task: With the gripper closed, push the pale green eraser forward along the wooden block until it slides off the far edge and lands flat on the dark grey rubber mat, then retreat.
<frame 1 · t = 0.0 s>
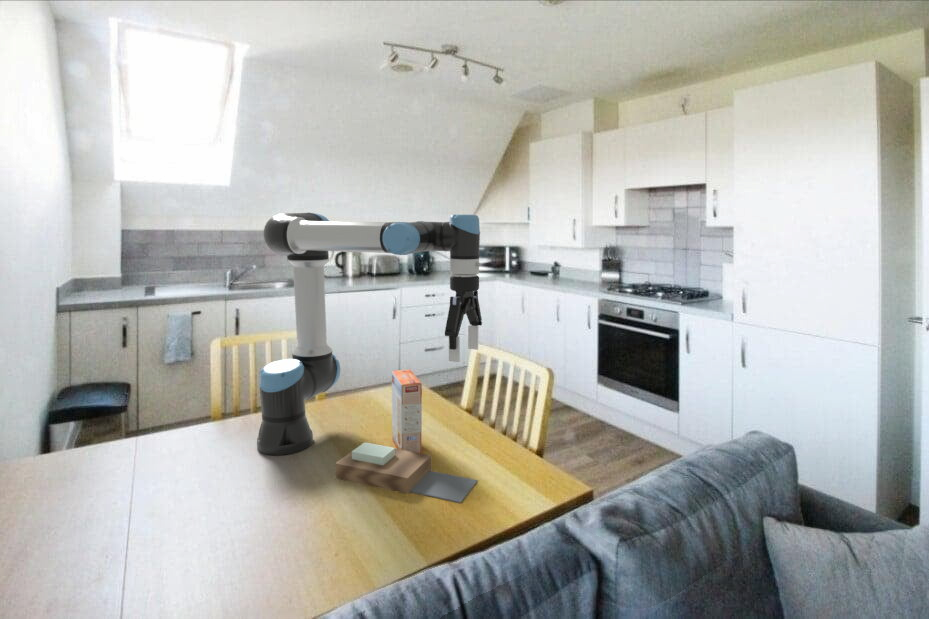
hand: (464, 354, 142), 28 cm above the table, fingers open, 13 cm apart
mat: (444, 486, 129), on the table
pale green eraser: (373, 457, 135), point 4 cm above the table, touching wooden block
wooden block: (384, 474, 135), on the table
cracker box: (406, 448, 150), on the table
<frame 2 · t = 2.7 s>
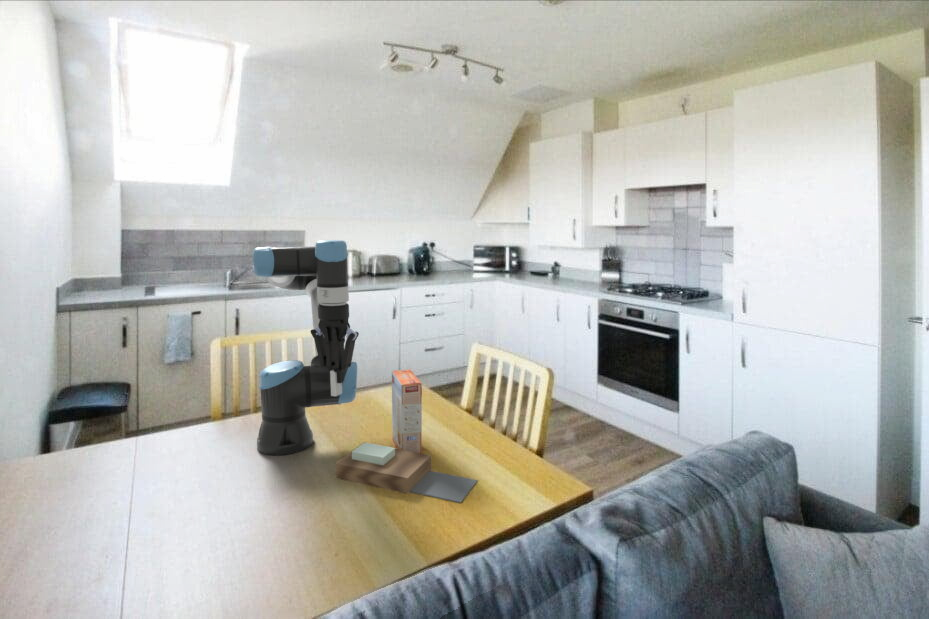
hand: (336, 394, 136), 19 cm above the table, fingers closed
nothing on the table moved.
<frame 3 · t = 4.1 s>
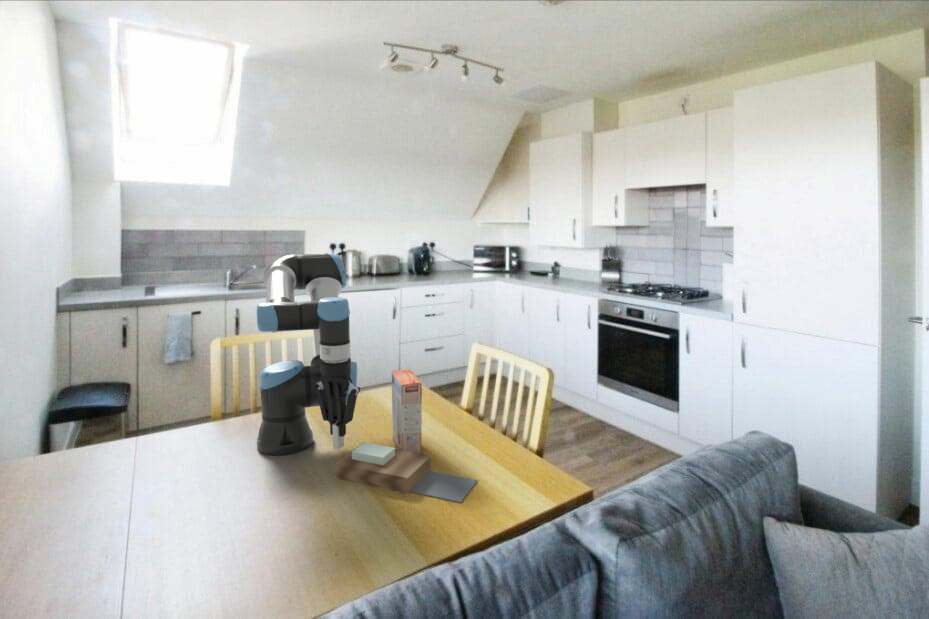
hand: (338, 447, 139), 5 cm above the table, fingers closed
nothing on the table moved.
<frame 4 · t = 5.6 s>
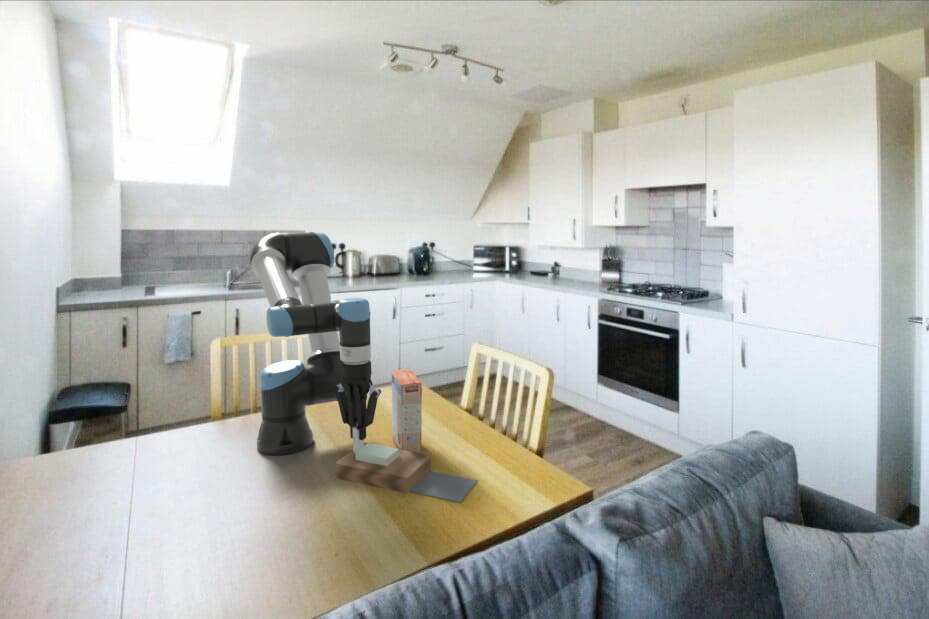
hand: (358, 450, 136), 5 cm above the table, fingers closed
pale green eraser: (377, 457, 135), point 4 cm above the table, touching wooden block
everything else where it was.
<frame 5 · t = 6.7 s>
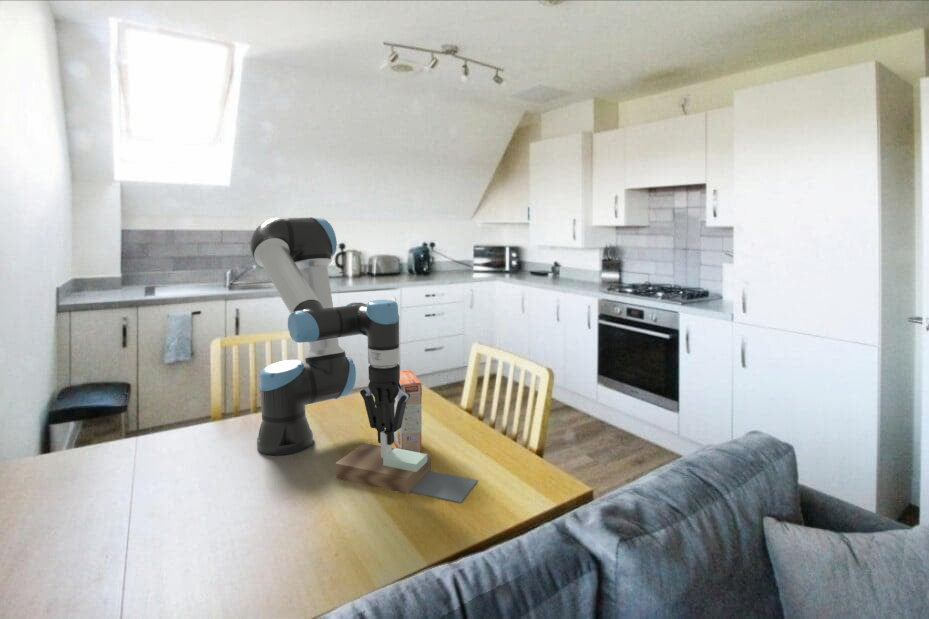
hand: (386, 455, 133), 5 cm above the table, fingers closed
pale green eraser: (405, 463, 132), point 4 cm above the table, touching wooden block
everything else where it was.
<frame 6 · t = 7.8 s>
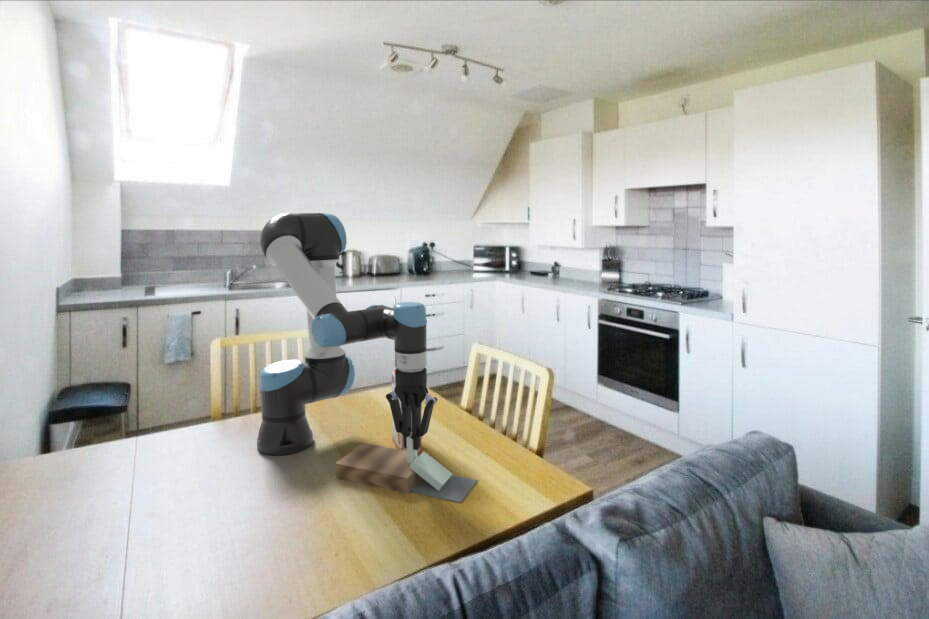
hand: (412, 460, 131), 5 cm above the table, fingers closed
pale green eraser: (429, 473, 130), point 3 cm above the table, tilted 30°, touching gripper
everything else where it was.
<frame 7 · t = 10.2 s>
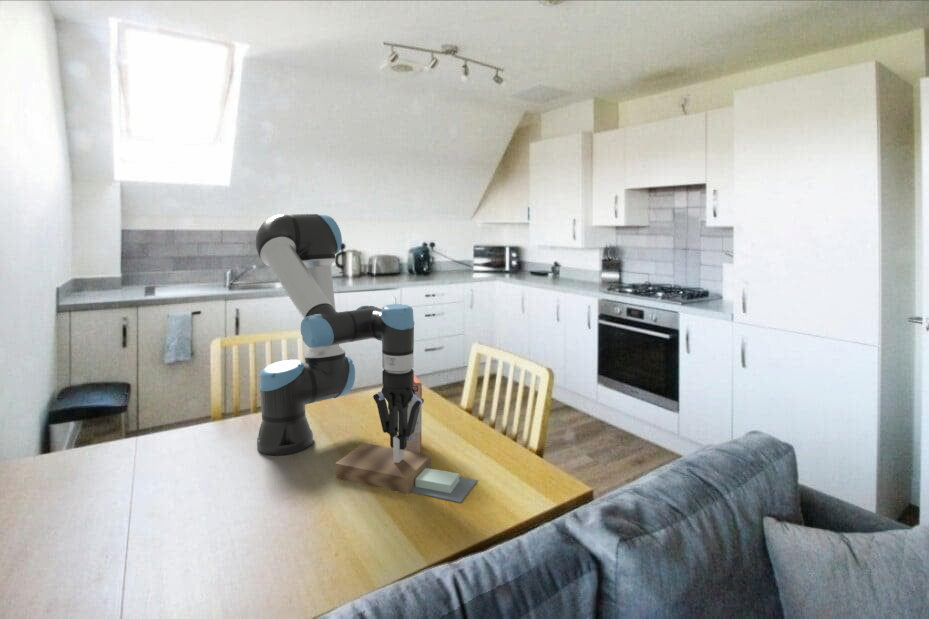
hand: (398, 460, 133), 4 cm above the table, fingers closed
pale green eraser: (437, 483, 129), resting on mat
everything else where it was.
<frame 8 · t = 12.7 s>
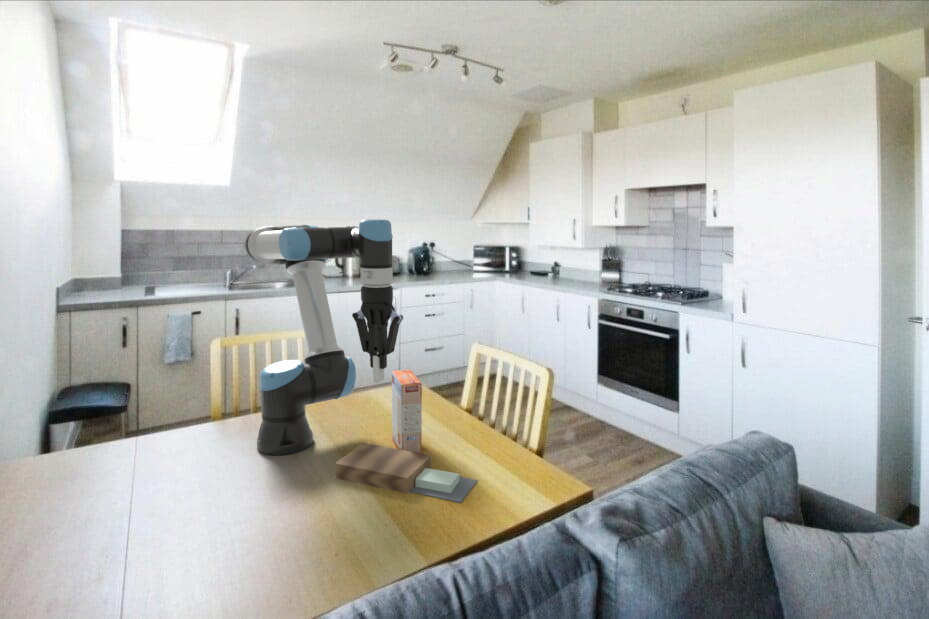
hand: (378, 380, 131), 24 cm above the table, fingers closed
nothing on the table moved.
at the end: pale green eraser resting on mat; pale green eraser inside the target area (2.3 cm from its centre), resting on mat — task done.
